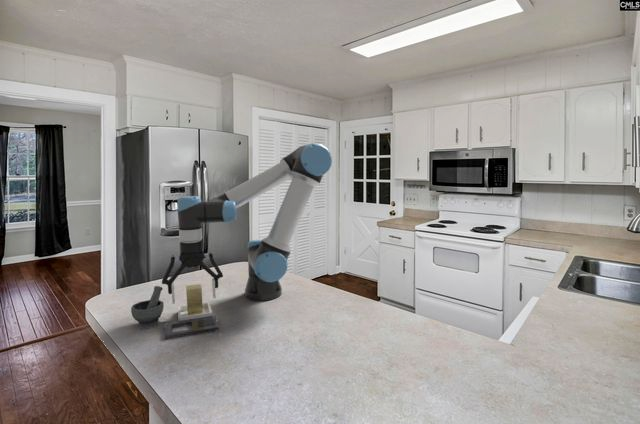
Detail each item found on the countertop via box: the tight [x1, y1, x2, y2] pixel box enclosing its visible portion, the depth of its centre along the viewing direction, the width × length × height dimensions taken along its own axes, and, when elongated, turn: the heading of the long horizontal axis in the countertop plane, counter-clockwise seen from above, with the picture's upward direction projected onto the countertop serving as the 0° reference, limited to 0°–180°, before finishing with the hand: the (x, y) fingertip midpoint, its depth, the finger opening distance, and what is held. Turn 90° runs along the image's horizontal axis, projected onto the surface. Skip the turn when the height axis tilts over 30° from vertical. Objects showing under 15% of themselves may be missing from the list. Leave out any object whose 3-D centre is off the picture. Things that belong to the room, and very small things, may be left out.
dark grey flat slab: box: [164, 315, 220, 340], centre depth 118 cm, size 16×10×1 cm, turn 112°
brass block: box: [185, 283, 203, 315], centre depth 128 cm, size 5×5×10 cm
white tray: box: [177, 301, 213, 321], centre depth 129 cm, size 11×11×2 cm
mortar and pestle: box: [130, 285, 165, 329], centre depth 121 cm, size 11×9×12 cm
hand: (194, 299), depth 128 cm, fingers open, 13 cm apart
